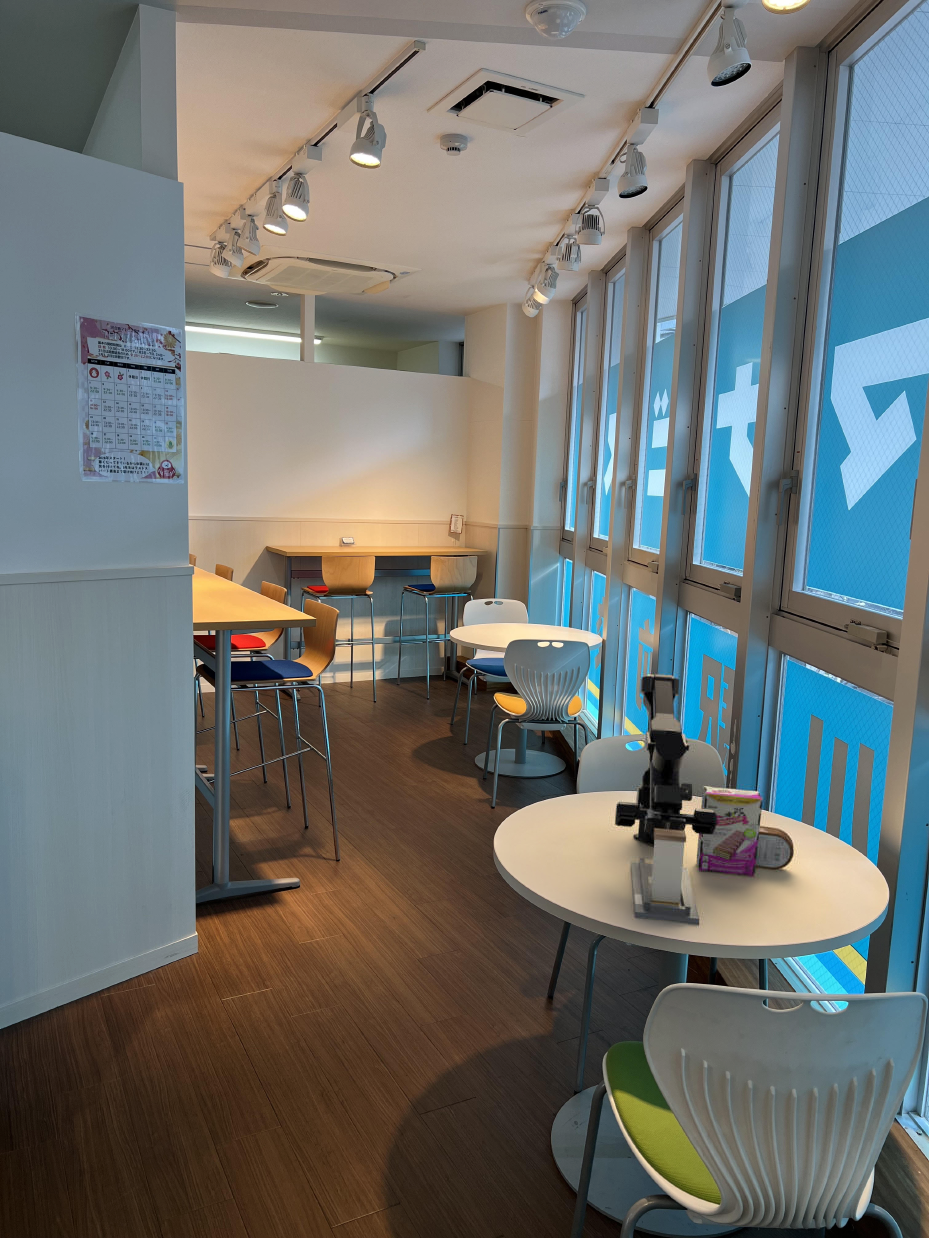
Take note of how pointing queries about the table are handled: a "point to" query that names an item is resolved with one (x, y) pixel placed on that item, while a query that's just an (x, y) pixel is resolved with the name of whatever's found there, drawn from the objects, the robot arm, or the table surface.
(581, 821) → the table surface
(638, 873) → the switch housing
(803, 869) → the table surface
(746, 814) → the candy bar box
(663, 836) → the switch tab
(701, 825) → the robot arm
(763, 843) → the tin
